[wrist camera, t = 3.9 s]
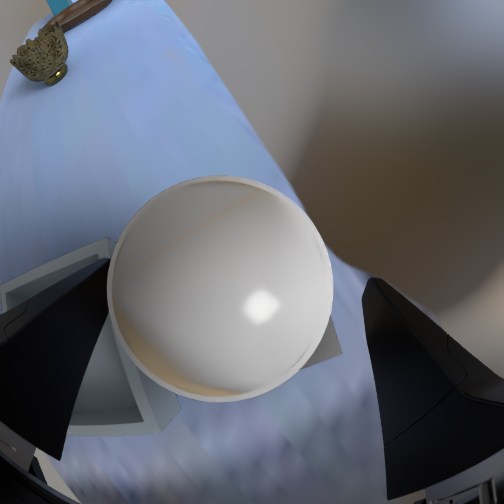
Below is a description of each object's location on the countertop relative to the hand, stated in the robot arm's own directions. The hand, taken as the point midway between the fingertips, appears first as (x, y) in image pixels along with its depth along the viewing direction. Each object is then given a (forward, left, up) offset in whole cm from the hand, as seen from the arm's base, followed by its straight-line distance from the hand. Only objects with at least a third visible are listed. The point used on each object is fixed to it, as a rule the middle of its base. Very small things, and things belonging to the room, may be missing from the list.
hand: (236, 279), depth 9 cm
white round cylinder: (-1, 0, -6) cm, 6 cm away
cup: (+32, +16, -8) cm, 37 cm away
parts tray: (-1, +11, -7) cm, 13 cm away
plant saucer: (+59, +17, -8) cm, 62 cm away
